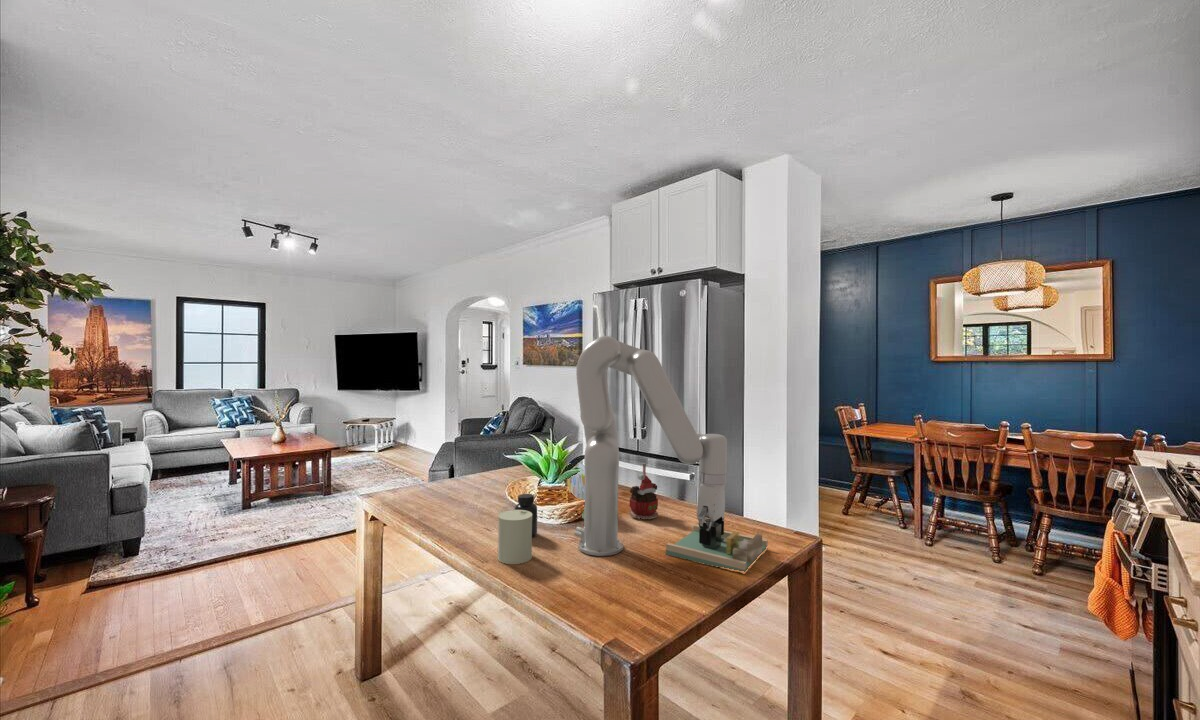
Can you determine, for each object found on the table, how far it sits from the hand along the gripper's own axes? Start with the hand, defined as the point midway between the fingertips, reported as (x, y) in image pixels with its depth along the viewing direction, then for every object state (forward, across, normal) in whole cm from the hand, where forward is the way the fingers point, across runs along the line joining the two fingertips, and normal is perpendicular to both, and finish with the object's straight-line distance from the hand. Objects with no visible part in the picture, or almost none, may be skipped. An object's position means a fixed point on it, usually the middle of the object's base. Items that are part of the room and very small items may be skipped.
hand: (711, 538), depth 141 cm
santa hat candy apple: (+4, -15, -30) cm, 34 cm away
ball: (0, 0, +10) cm, 10 cm away
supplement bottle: (+4, +22, -50) cm, 55 cm away
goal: (+2, 0, +10) cm, 10 cm away
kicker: (+2, 0, +2) cm, 3 cm away
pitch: (+3, 0, +2) cm, 4 cm away
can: (+4, +36, -41) cm, 55 cm away
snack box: (+4, -7, -50) cm, 51 cm away
